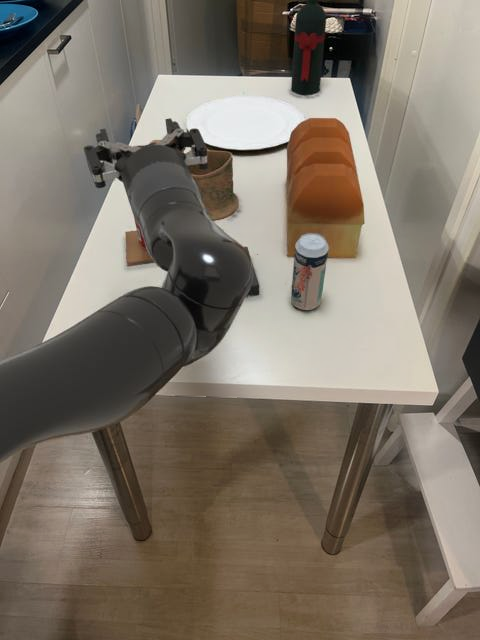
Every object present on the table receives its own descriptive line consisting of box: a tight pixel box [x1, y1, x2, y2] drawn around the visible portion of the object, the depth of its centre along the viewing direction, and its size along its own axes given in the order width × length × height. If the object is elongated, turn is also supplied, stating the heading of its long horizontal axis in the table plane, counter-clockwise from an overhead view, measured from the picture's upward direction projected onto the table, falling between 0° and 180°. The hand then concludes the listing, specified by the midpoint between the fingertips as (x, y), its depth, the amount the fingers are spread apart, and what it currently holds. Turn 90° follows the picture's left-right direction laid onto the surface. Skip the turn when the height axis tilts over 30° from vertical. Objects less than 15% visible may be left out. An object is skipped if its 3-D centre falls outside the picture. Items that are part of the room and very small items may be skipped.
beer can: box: [290, 233, 329, 311], centre depth 75 cm, size 5×5×12 cm
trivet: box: [125, 229, 155, 267], centre depth 89 cm, size 10×9×1 cm
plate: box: [185, 94, 306, 152], centre depth 121 cm, size 29×29×2 cm
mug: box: [148, 139, 239, 222], centre depth 95 cm, size 12×18×12 cm, turn 72°
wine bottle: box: [290, 0, 327, 96], centre depth 125 cm, size 8×10×30 cm
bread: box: [285, 117, 365, 259], centre depth 90 cm, size 25×12×15 cm, turn 177°
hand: (136, 130), depth 65 cm, fingers open, 8 cm apart
